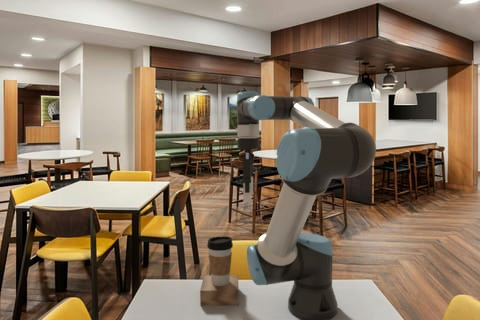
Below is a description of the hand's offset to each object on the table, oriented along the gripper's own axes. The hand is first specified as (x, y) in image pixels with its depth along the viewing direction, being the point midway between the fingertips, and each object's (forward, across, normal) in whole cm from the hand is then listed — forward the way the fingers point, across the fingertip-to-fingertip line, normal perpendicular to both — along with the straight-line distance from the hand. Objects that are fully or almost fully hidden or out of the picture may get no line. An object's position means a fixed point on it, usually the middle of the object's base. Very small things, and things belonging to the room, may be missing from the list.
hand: (248, 198), depth 132 cm
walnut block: (+32, +10, -9) cm, 34 cm away
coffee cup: (+27, +10, -9) cm, 30 cm away
